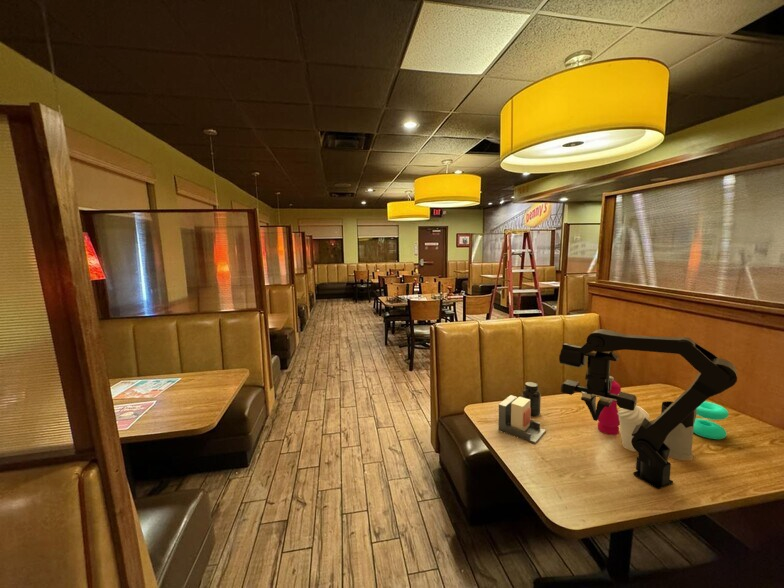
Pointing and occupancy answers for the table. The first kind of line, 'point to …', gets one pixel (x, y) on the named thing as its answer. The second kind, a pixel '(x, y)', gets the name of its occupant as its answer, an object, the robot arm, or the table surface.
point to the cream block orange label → (520, 413)
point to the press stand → (529, 434)
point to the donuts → (709, 427)
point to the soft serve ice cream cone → (630, 424)
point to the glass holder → (681, 436)
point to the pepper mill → (610, 413)
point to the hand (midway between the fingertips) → (595, 420)
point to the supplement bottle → (532, 397)
